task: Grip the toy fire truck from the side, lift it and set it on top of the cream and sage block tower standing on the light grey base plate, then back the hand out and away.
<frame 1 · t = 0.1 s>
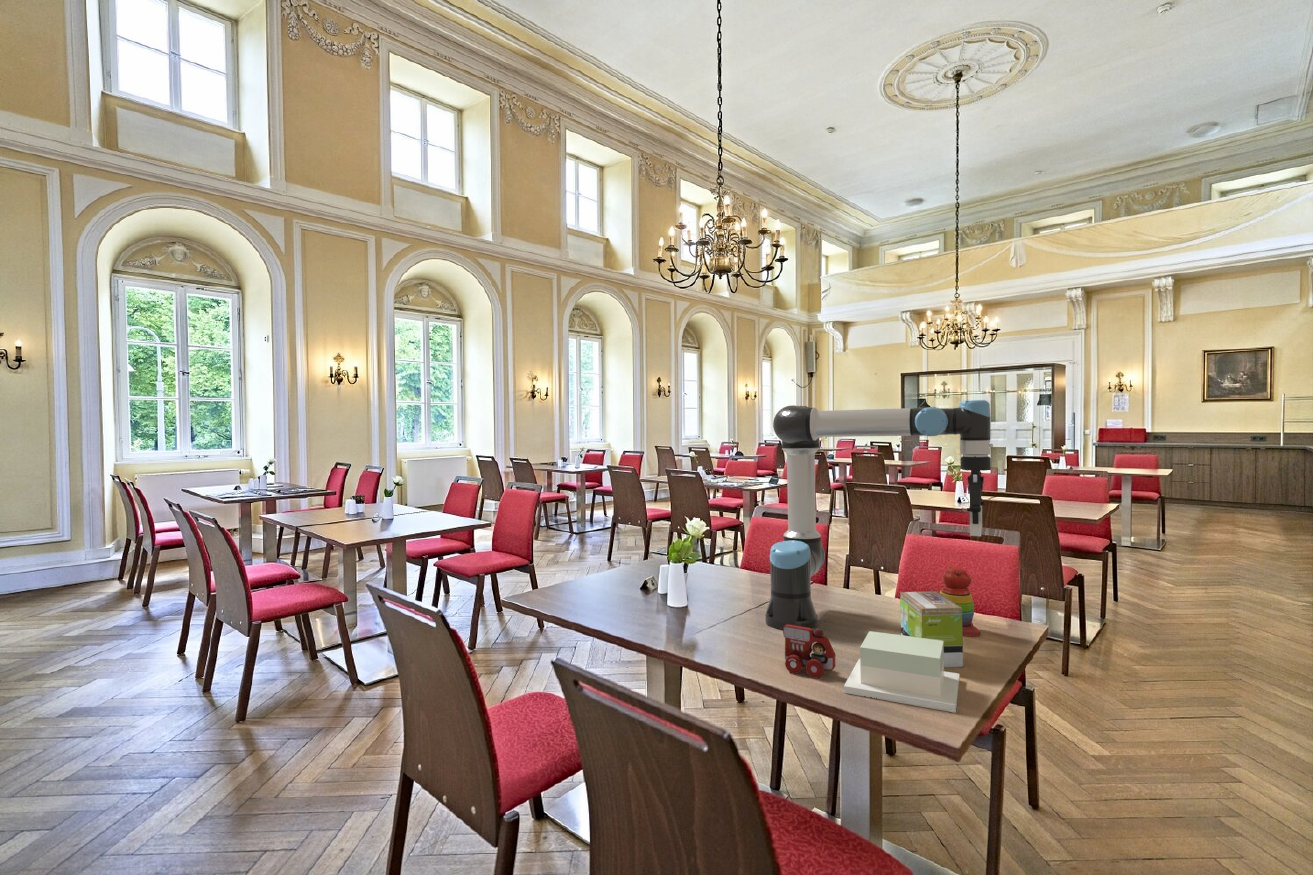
hand: (976, 532, 173), 28 cm above the table, tool pointing down, fingers open, 13 cm apart
stacking bear: (957, 630, 176), on the table
block tower: (902, 686, 139), on the table
tea box: (930, 657, 156), on the table
toy fire truck: (808, 671, 149), on the table
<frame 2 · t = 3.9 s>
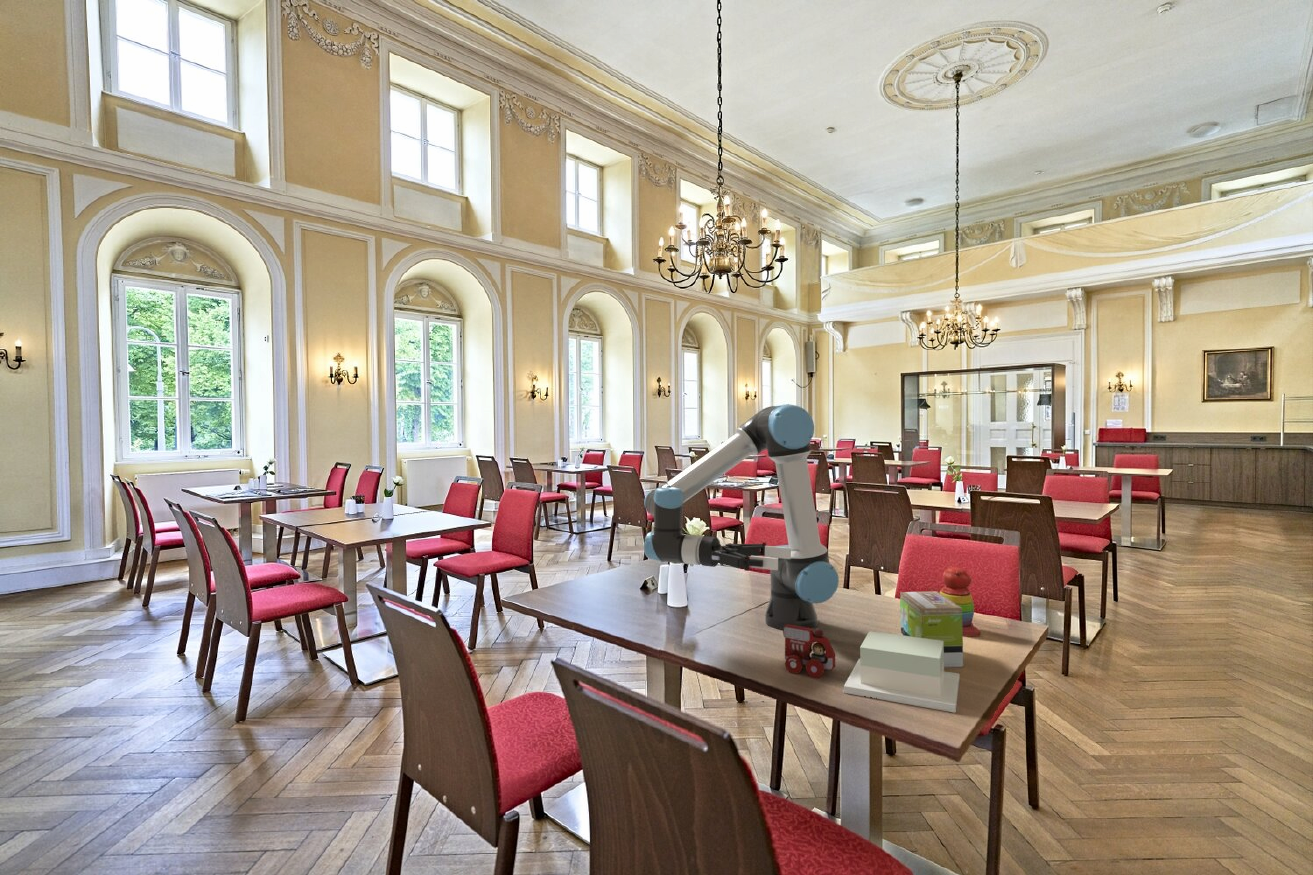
hand: (784, 558, 152), 26 cm above the table, tool horizontal, fingers open, 13 cm apart
nothing on the table moved.
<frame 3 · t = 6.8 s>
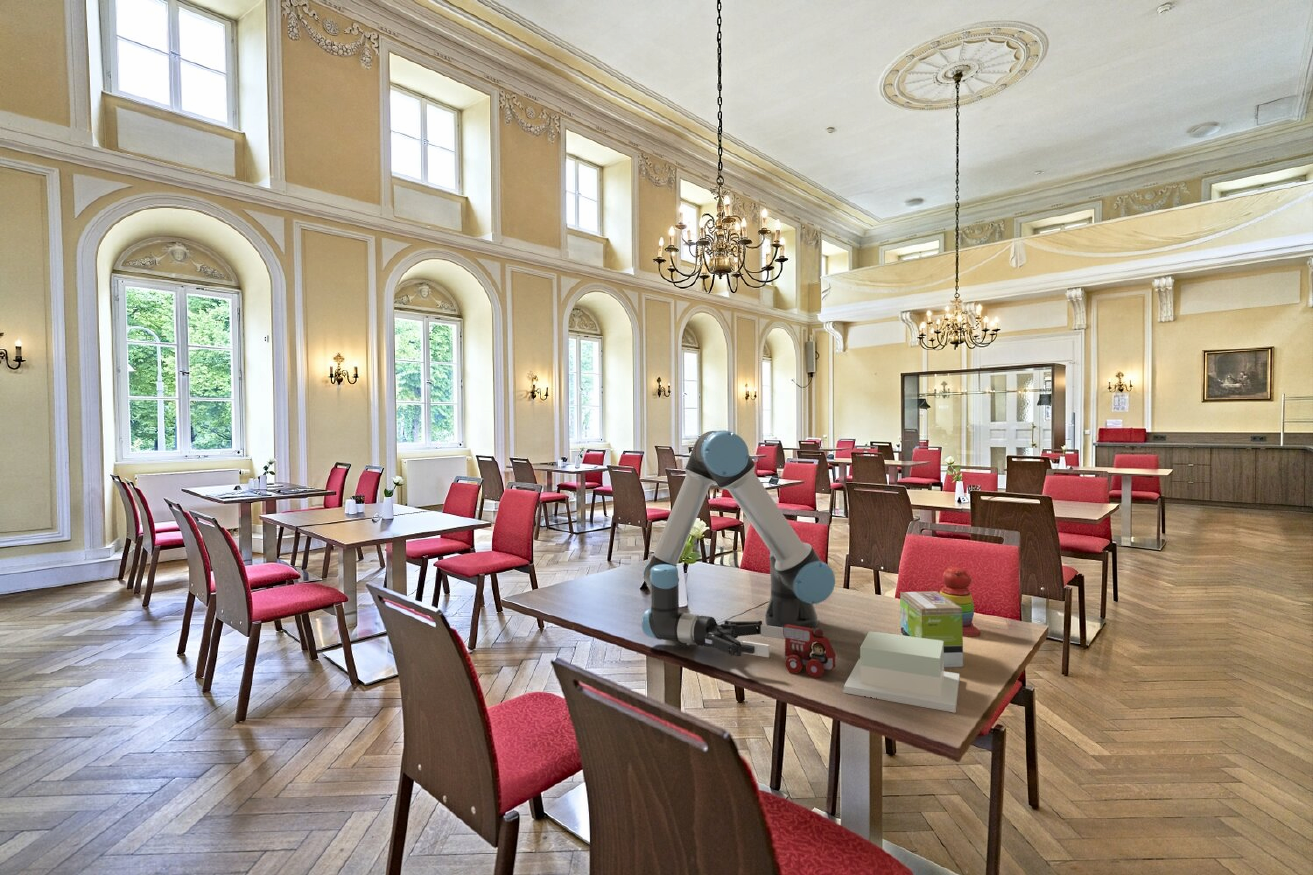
hand: (777, 642, 152), 6 cm above the table, tool horizontal, fingers open, 13 cm apart
nothing on the table moved.
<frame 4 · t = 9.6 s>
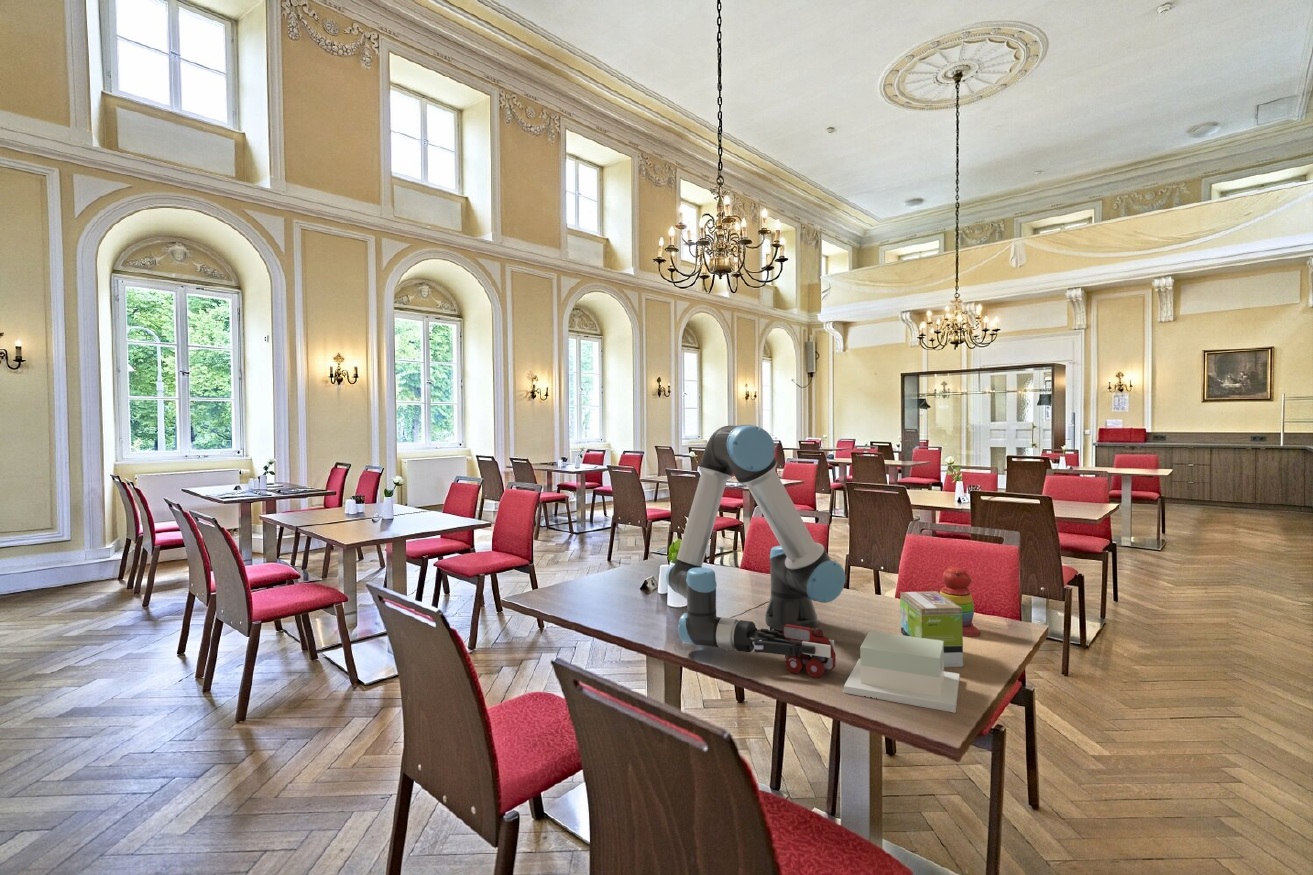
hand: (831, 648, 146), 6 cm above the table, tool horizontal, fingers closed on toy fire truck, 3 cm apart
toy fire truck: (809, 671, 149), on the table, touching gripper
everything else where it was.
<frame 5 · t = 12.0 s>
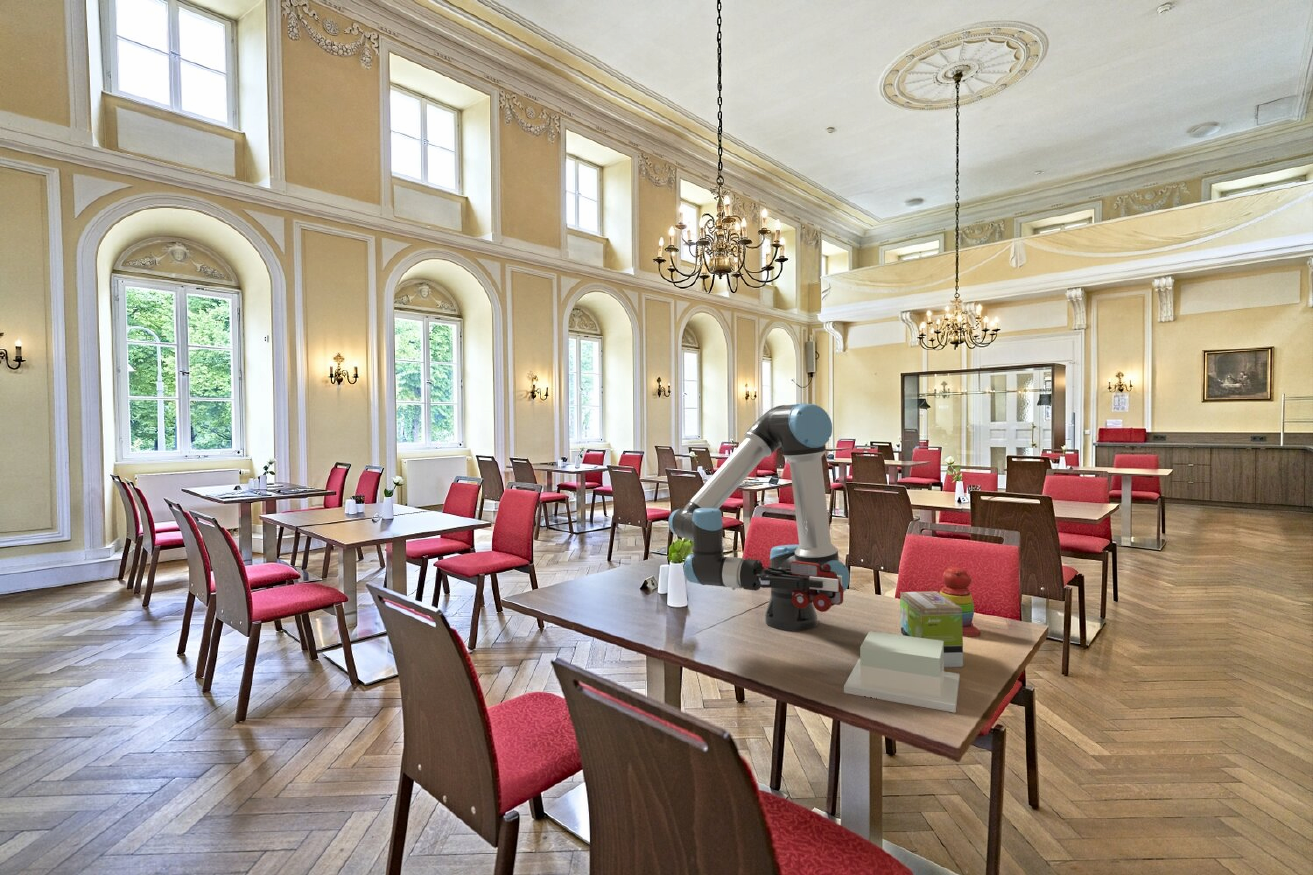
hand: (839, 583, 143), 22 cm above the table, tool horizontal, fingers closed on toy fire truck, 3 cm apart
toy fire truck: (816, 607, 146), point 16 cm above the table, touching gripper
everything else where it was.
when the fingers open (17 cm above the table, at t = 14.8 s): toy fire truck drops 1 cm, resting on block tower.
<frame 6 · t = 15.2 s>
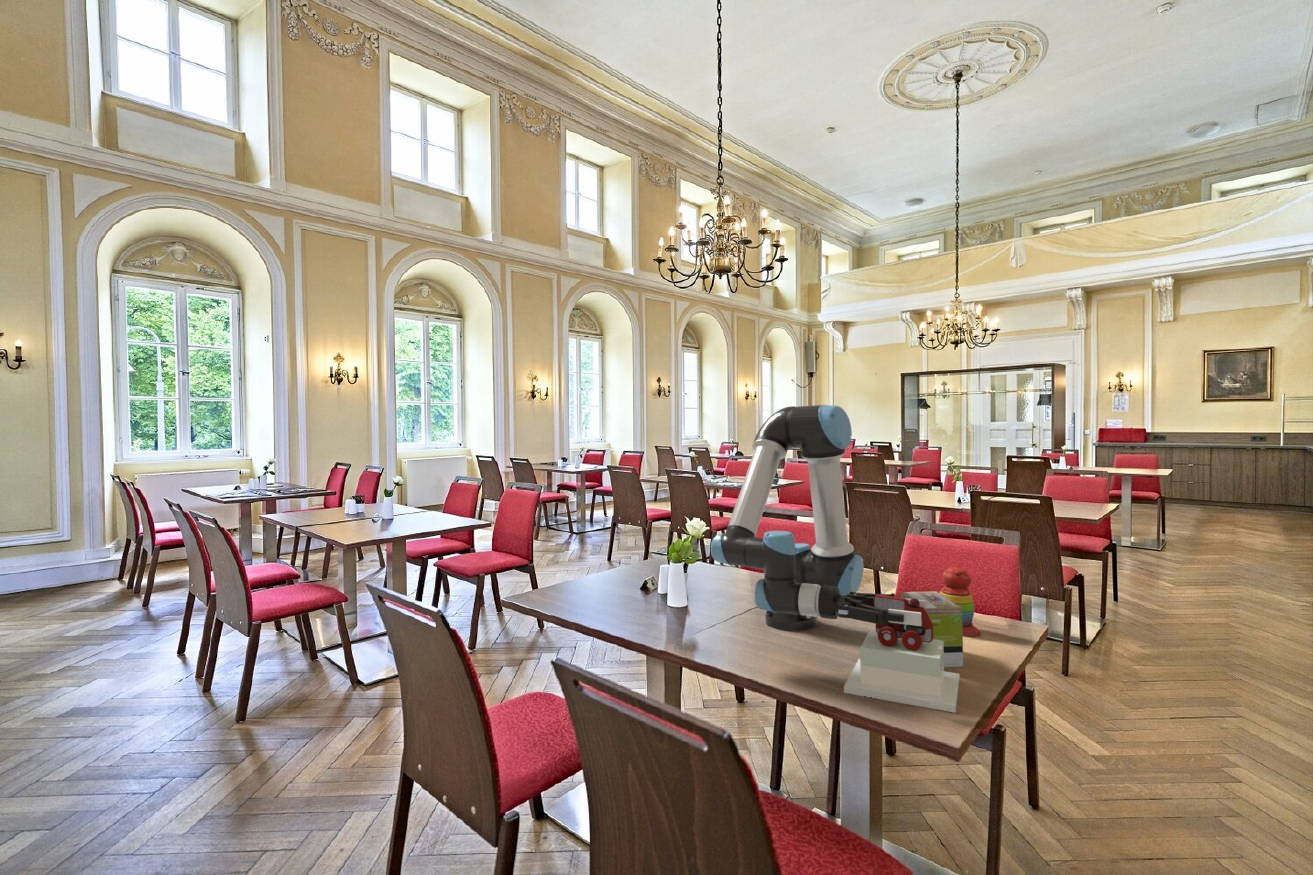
hand: (923, 612, 136), 17 cm above the table, tool horizontal, fingers open, 9 cm apart
toy fire truck: (903, 644, 139), point 9 cm above the table, touching block tower
everything else where it was.
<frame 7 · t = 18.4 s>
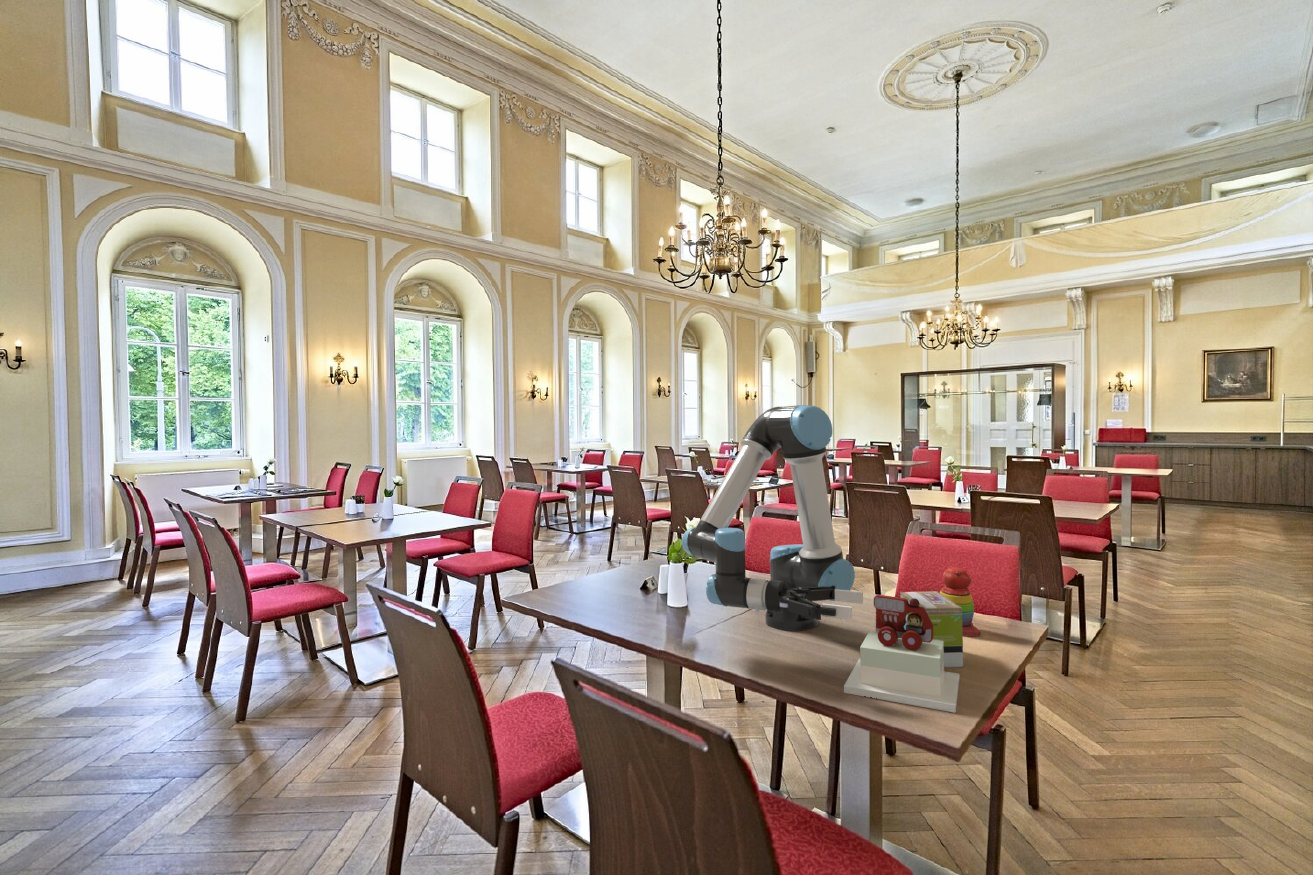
hand: (857, 605, 143), 17 cm above the table, tool horizontal, fingers open, 13 cm apart
nothing on the table moved.
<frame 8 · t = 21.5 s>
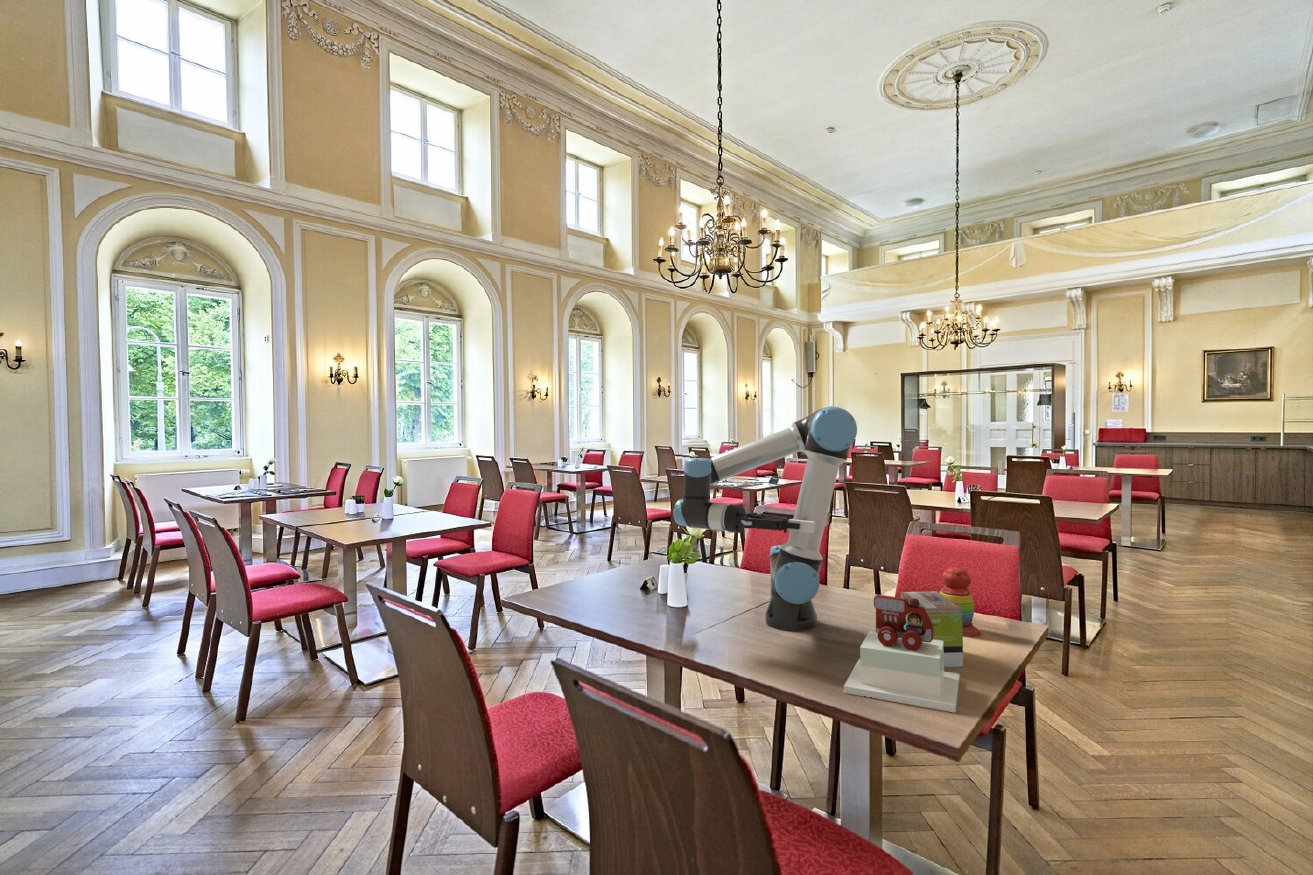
hand: (813, 527, 158), 33 cm above the table, tool horizontal, fingers closed
nothing on the table moved.
at the end: toy fire truck inside the target area on the block tower (0.1 cm from its centre), point 9.3 cm above the block tower's base; toy fire truck tilted 0°; the gripper is holding nothing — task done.
